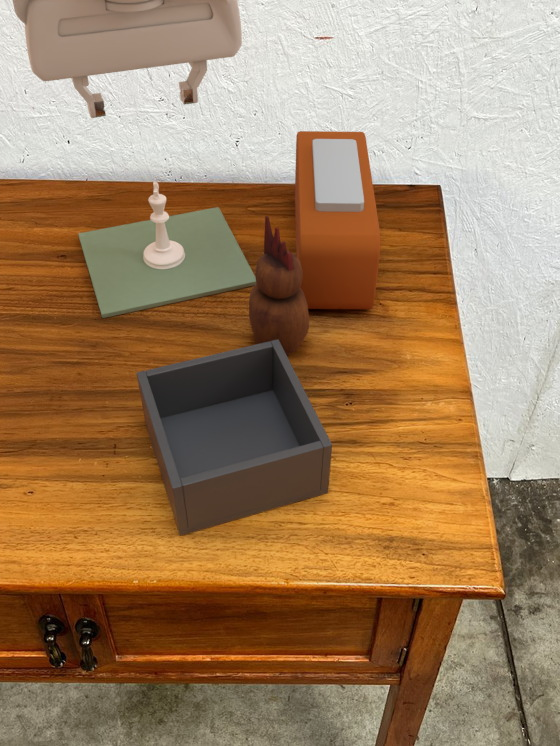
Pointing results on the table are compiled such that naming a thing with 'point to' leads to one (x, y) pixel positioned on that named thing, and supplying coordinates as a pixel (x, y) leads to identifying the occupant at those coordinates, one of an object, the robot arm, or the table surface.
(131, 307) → the mat
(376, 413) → the table surface
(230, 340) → the table surface
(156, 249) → the chess piece
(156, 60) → the robot arm
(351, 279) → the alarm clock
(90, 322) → the table surface
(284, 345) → the wooden figurine
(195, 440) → the tub
